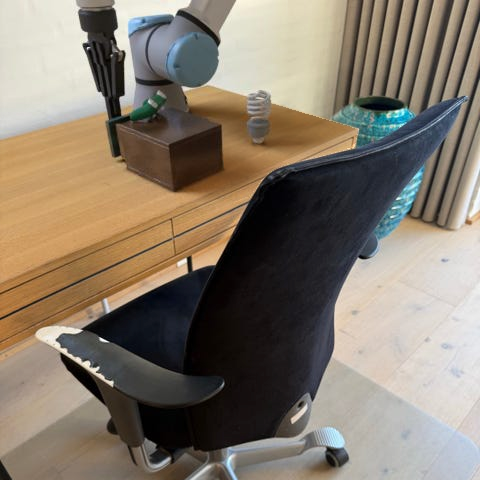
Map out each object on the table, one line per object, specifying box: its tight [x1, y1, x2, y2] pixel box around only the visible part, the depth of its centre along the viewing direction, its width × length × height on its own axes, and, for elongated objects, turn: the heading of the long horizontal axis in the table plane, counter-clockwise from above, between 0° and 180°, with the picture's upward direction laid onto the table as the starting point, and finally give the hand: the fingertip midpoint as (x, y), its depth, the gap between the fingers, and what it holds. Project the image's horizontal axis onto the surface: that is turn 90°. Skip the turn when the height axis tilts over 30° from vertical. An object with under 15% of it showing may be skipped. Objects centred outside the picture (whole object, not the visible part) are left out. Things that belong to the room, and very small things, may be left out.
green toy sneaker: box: [130, 90, 167, 121], centre depth 100 cm, size 9×4×6 cm
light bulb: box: [246, 89, 272, 145], centre depth 110 cm, size 6×6×12 cm
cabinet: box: [119, 107, 224, 193], centre depth 101 cm, size 16×14×10 cm
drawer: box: [104, 112, 132, 160], centre depth 106 cm, size 20×13×8 cm
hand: (116, 126), depth 111 cm, fingers closed
